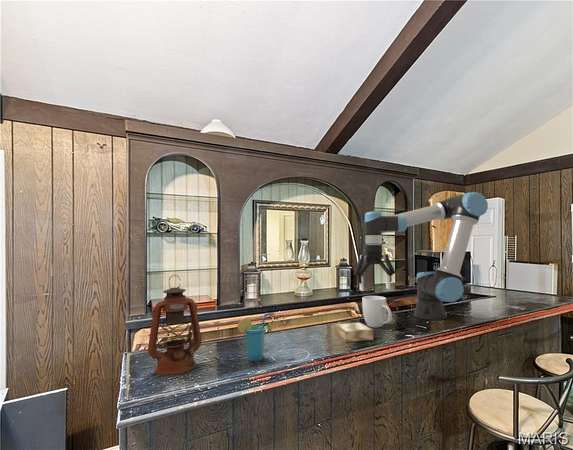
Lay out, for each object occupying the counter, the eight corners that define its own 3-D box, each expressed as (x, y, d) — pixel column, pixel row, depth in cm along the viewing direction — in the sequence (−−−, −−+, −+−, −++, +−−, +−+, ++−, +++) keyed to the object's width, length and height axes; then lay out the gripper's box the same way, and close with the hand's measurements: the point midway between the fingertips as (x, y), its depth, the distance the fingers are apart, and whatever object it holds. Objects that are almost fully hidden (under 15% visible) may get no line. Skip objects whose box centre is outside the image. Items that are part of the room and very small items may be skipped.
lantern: (150, 380, 95) (150, 278, 96) (145, 366, 106) (145, 275, 108) (206, 368, 103) (206, 274, 105) (197, 356, 114) (196, 272, 116)
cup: (269, 351, 118) (268, 310, 119) (280, 357, 112) (279, 313, 112) (234, 359, 111) (234, 315, 111) (244, 366, 104) (243, 319, 105)
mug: (399, 328, 145) (398, 299, 146) (383, 332, 139) (382, 301, 140) (373, 321, 157) (372, 295, 158) (358, 325, 151) (357, 297, 152)
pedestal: (360, 331, 141) (360, 322, 141) (373, 339, 129) (373, 329, 129) (334, 333, 138) (334, 324, 138) (345, 342, 126) (345, 331, 127)
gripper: (393, 244, 157) (394, 287, 156) (345, 244, 152) (347, 289, 151) (401, 244, 150) (403, 289, 149) (352, 244, 145) (353, 292, 143)
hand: (375, 289), depth 150 cm, fingers open, 13 cm apart
